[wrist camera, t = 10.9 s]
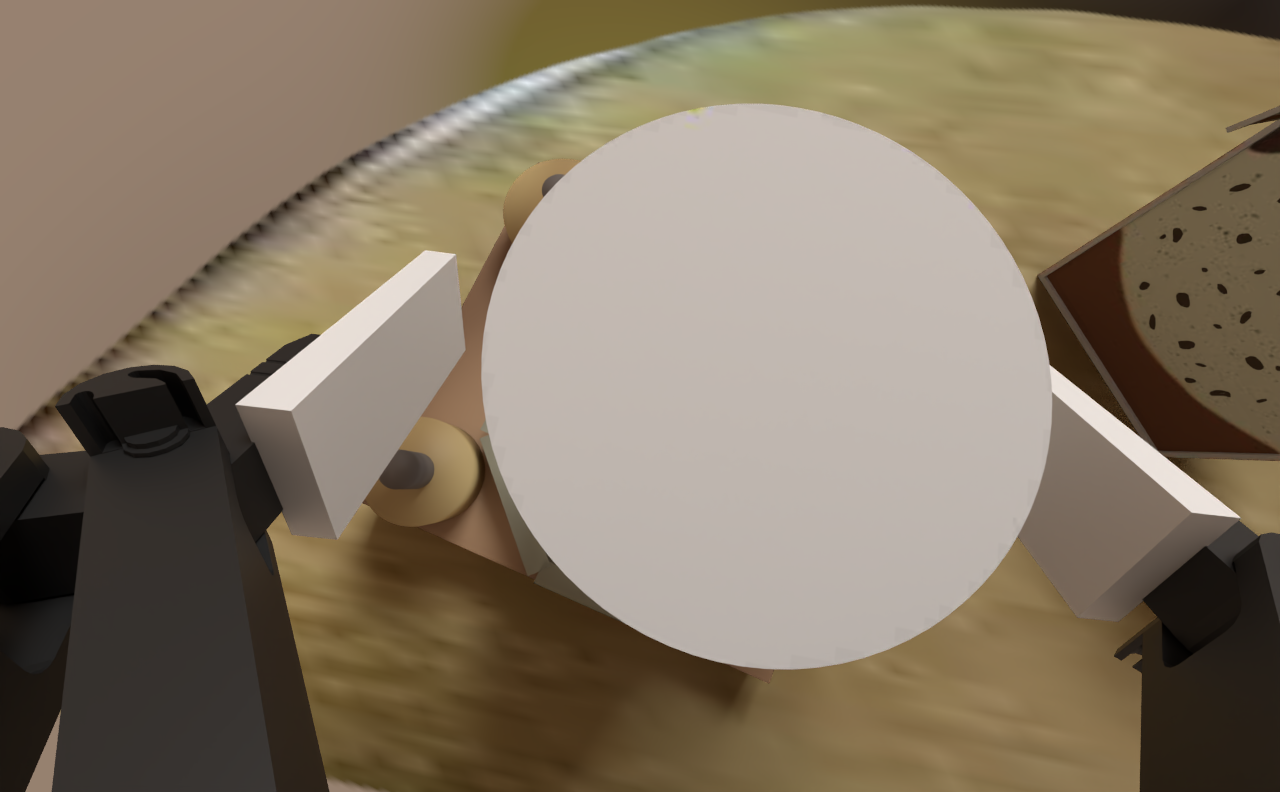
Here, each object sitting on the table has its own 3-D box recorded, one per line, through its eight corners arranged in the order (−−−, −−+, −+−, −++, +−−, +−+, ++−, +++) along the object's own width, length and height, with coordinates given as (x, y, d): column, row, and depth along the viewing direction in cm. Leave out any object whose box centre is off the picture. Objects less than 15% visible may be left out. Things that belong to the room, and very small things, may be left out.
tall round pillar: (810, 391, 19) (1118, 247, 8) (724, 587, 18) (939, 787, 6) (625, 299, 20) (644, 21, 8) (525, 485, 18) (364, 489, 6)
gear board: (871, 328, 22) (948, 281, 17) (753, 663, 19) (803, 727, 14) (544, 190, 22) (524, 103, 17) (384, 500, 20) (303, 504, 15)
